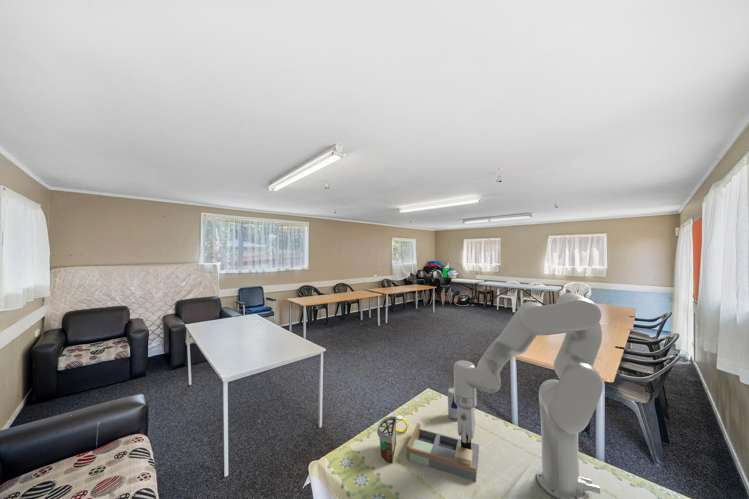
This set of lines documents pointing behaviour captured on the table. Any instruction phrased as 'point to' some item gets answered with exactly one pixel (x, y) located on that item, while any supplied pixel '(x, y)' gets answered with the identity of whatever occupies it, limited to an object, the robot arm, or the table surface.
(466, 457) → the birch block
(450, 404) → the energy drink
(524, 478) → the table surface
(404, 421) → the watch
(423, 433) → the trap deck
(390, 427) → the food container
